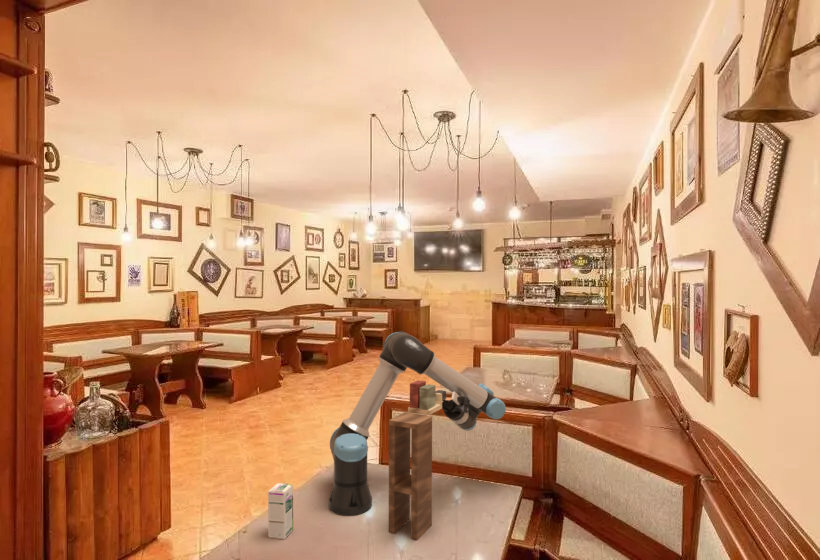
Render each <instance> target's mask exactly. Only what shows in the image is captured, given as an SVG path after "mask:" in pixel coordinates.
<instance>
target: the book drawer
mask: <svg viewBox="0 0 820 560" xmlns="http://www.w3.org/2000/svg"><path fill="white" fill-rule="evenodd" d="M436 387H437V386H436V384H431V383H430V384H427V381H426V380H419V379H418V380H415V381H412V382H410V383H409V406H408V407H407V413H413V414H420V415H427V416H432V415H433V414H434V413H436V412H439V411H440V410H443V409H442V402H443V400H447V391H446V390H442V389H439V390H436Z"/></svg>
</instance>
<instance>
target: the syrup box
mask: <svg viewBox="0 0 820 560" xmlns="http://www.w3.org/2000/svg"><path fill="white" fill-rule="evenodd" d="M267 514H268V515H267V517H268V518H267V525H268V526H267V529H268V531H267V536H268V538H270V539H271V538H272V539H278V540H286V539H287V537H288V536H289V535H290V534H291V533H292V532H293V531H294V484H292V483H291V484H290V483H286V482H285V483H282V482H280V483H279V482H277V483H276V484H275V485H274V486H272V487H271V488H270V489H269V490H268V491H267Z"/></svg>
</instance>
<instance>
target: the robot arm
mask: <svg viewBox="0 0 820 560" xmlns="http://www.w3.org/2000/svg"><path fill="white" fill-rule="evenodd" d="M378 360H379V364H378V365H377V368H376V369H375V372H374V373H373V374H372V377H371V378H370V380H369V382H368V384H367V385H366V387H365V389H364V390H363V392H362V394H361V396H360V398H359V399H358V401H357V404H356V405H355V407H354V409H353V410H352V413H351V414H350V415H349V417H348V418H346V419H343V420H342V422H341V424H340V425H339V427H337V428H336V429H335V430H334V431H333V433H332V434H331V437H330V439H329V449H330V452H331V455H332V458H333V487H332V488H331V493H330V495H329V498H328V509H329V511H330V512H332V513H334V514H336V515H338V516H339V515H340V516H356V515H360V514H363V513H366V512H368V511H369V510H370V509H371V508H372V507H373V496H372V494H371V490H370V487H369V484H368V451H369V446H368V439H369V438H370V432H369V429H370V428H371V425H372V424H373V422H374V420H375V418H376V416H377V415H378V413H379V411H380V409H381V407H382V406H383V404H384V402H385V401H386V398H387V397H388V394H389V393H390V391H391V390H392V388H393V385H394V384H395V382H396V381H397V379H398V377H399V375H400V374H404V373H405V372H406V370H407V369H410V370H411V371H414V372H415V373H417V374H418V375H425V376H427V377H428V378H430V379H431V380H433V382H436V383H437V384H439V385H441V386H442V387H443V388H445V389H447V390H448V391H449V392H451V393H452V394H451V399H449V400H447V399H445V400H443V401H442V409H441V410H442V411H443V412H444V415H445V416H446V417H447V418H448V419H449V420H451V421H452V422H453V423H454V424H455V425H456V426H458V428H459V429H462V430H464V431H468V432H469V431H471V430H474V429H475V428H476V426H477V419H478V417H479V415H481V413H483V414H485V415H486V416H487V417H489V418H490V419H494V420H500V419H502V418H503V417H504V415H505V414H506V412H507V408H506V404H505V402H504V401H503V400H501V399H500V398H498V397H496V396H495V394H494V393H495V392H494V391H493V390H492V389H490V387H487V385H485V384H483V383H479V384H476V382H474V381H472V380H471V379H469V378H468V377H466V376H465V375H463V374H462V373H460V372H459V371H457V370H456V369H455V368H453V367H452V366H450V365H449V364H447V363H445V362H444V361H443V360H441V359H440V358H438V357H437V356H436V353H435V352H434V351H433V350H431V349H430V348H428V347H427V346H426V345H425V344H424V343H422V342H421V341H420V340H419V339H418V338H416V337H415V336H414V335H411V334H409V333H407V332H405V331H396V332H393V333H391V334H389V335H388V336H387V337H386V339H385V341H384V344H383V349H382V350H381V353H380V355H379V357H378Z"/></svg>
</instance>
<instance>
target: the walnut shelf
mask: <svg viewBox="0 0 820 560" xmlns="http://www.w3.org/2000/svg"><path fill="white" fill-rule="evenodd" d="M409 521H410V529H411V530H410V539H411V540H413V541H418V540H419V539H420V538H421V537H422V536H423V535H424V534H425V533H426V532H427V531H428V530H429V529H430V528H431V527H432V526H433V416H432V415H425V414H418V413H412V412H403V413H400V414H398V415H397V416H395V417H392V418H390V419H389V420H388V533H389V534H393V535H394V534H396V533H397V532H398V531H399V530H400V529H401V528H402V527H403V526H405V525H406V524H407V523H408V522H409ZM405 523H406V524H405Z"/></svg>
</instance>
